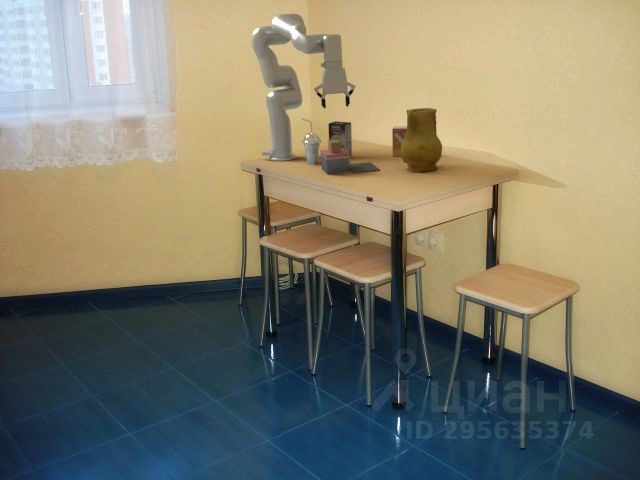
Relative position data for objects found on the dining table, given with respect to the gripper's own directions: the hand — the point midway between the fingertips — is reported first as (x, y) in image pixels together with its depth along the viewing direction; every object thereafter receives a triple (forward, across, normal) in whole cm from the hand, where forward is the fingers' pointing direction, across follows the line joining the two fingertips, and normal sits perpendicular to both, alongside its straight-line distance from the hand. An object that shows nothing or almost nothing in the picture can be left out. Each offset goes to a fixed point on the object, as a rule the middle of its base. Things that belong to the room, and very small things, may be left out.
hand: (335, 107), depth 307 cm
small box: (+27, +32, +20) cm, 46 cm away
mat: (+27, +10, -1) cm, 28 cm away
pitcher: (+28, +34, -11) cm, 45 cm away
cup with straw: (+26, -10, +17) cm, 33 cm away
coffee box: (+26, +5, +26) cm, 37 cm away
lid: (+20, -2, -2) cm, 20 cm away
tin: (+27, -2, -2) cm, 27 cm away
